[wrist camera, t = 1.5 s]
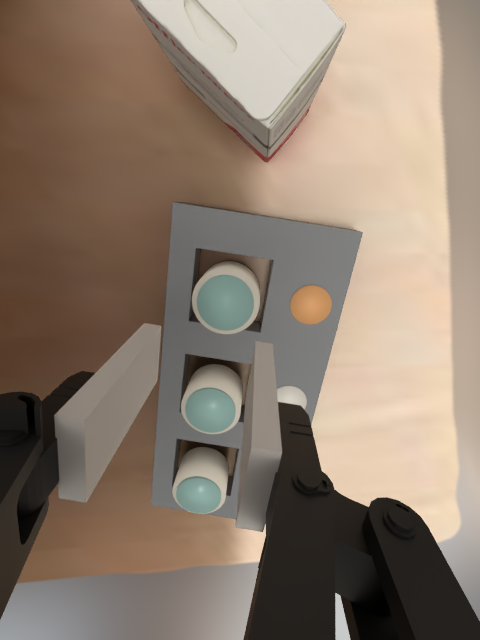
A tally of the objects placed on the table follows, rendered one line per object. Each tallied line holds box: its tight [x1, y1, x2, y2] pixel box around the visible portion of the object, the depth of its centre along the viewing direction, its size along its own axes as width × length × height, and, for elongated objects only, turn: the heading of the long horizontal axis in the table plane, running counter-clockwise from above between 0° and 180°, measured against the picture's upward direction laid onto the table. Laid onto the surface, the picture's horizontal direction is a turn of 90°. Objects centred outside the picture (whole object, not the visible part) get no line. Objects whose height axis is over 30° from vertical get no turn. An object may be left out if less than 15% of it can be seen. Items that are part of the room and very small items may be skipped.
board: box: [151, 202, 363, 524], centre depth 30 cm, size 14×30×3 cm, turn 172°
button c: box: [192, 261, 260, 334], centre depth 24 cm, size 5×5×4 cm
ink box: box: [131, 0, 346, 162], centre depth 18 cm, size 9×5×12 cm, turn 48°
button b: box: [181, 364, 243, 434], centre depth 27 cm, size 5×5×4 cm
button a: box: [172, 447, 229, 514], centre depth 31 cm, size 5×5×4 cm
